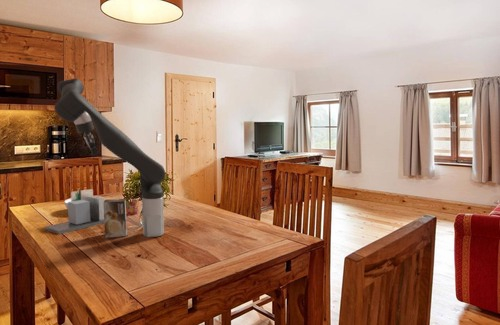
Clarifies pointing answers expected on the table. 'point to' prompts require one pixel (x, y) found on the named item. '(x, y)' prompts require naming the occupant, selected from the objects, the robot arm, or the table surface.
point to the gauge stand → (95, 213)
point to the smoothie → (132, 207)
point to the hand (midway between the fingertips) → (95, 155)
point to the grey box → (79, 211)
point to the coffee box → (115, 218)
